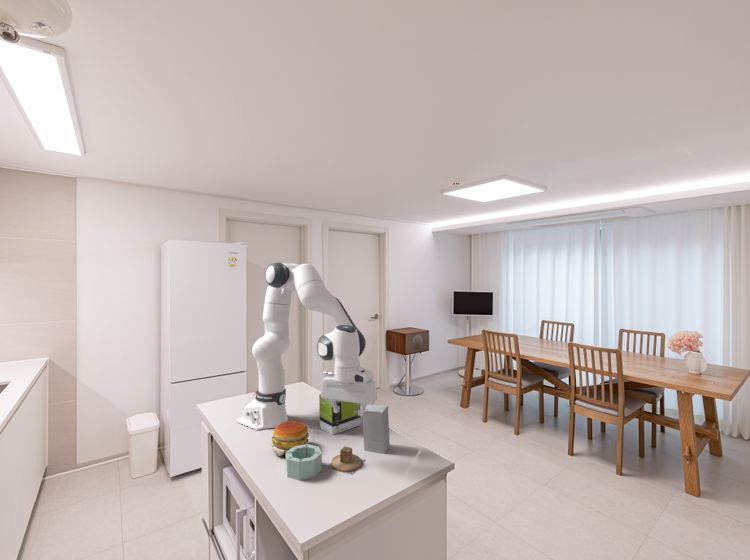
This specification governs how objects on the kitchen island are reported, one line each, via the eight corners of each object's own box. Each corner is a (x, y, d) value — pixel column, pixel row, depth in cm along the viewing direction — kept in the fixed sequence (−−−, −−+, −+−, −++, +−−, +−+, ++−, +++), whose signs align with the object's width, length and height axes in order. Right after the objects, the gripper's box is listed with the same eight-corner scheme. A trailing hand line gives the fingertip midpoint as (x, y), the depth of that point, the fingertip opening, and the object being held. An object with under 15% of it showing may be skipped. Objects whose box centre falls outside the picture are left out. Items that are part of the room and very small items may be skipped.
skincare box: (389, 447, 130) (390, 405, 130) (384, 456, 124) (384, 411, 124) (368, 443, 133) (368, 402, 133) (361, 452, 126) (362, 408, 126)
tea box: (347, 419, 157) (347, 386, 157) (361, 426, 149) (361, 391, 149) (318, 428, 147) (318, 393, 147) (332, 436, 140) (332, 399, 140)
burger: (315, 445, 132) (315, 418, 132) (294, 462, 119) (294, 433, 119) (286, 438, 137) (286, 413, 137) (263, 454, 124) (263, 426, 124)
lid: (325, 467, 115) (325, 452, 115) (340, 454, 124) (340, 440, 124) (352, 474, 111) (352, 459, 111) (365, 460, 120) (365, 445, 120)
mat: (325, 469, 115) (325, 467, 115) (340, 455, 124) (340, 454, 124) (352, 475, 111) (352, 474, 111) (365, 461, 120) (365, 459, 120)
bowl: (279, 475, 111) (279, 456, 111) (299, 459, 121) (299, 442, 121) (307, 483, 106) (308, 464, 107) (326, 466, 117) (327, 448, 117)
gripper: (316, 373, 119) (317, 413, 119) (370, 378, 111) (372, 421, 111) (325, 369, 125) (327, 407, 125) (378, 373, 117) (379, 414, 117)
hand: (348, 414), depth 118 cm, fingers open, 8 cm apart
